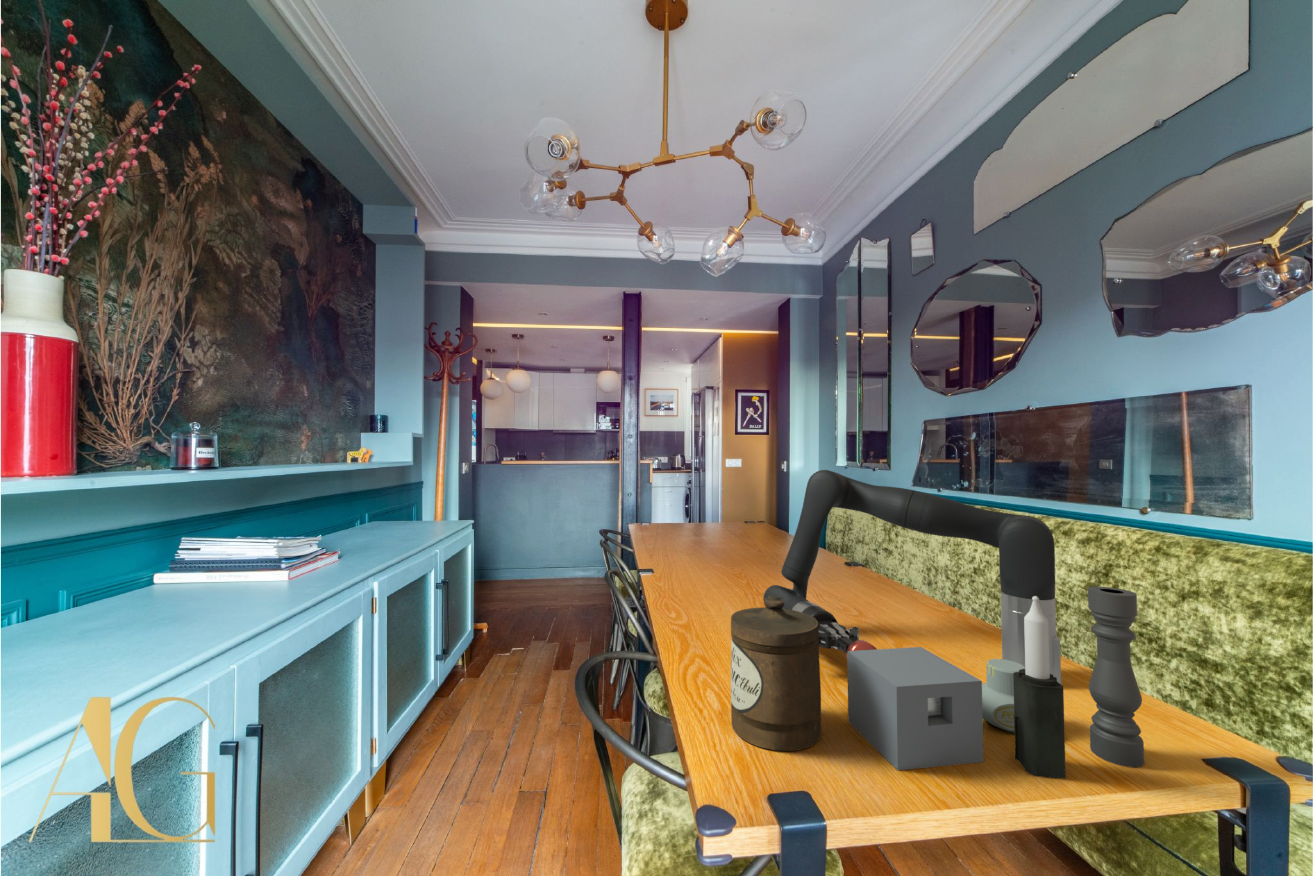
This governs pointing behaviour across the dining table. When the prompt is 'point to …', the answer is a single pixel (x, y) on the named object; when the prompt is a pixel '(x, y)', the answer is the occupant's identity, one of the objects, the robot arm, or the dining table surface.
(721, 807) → the dining table surface
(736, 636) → the wooden container
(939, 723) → the housing
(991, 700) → the air freshener
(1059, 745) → the candle
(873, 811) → the dining table surface
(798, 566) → the robot arm
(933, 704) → the plunger
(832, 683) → the dining table surface
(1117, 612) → the candle holder
